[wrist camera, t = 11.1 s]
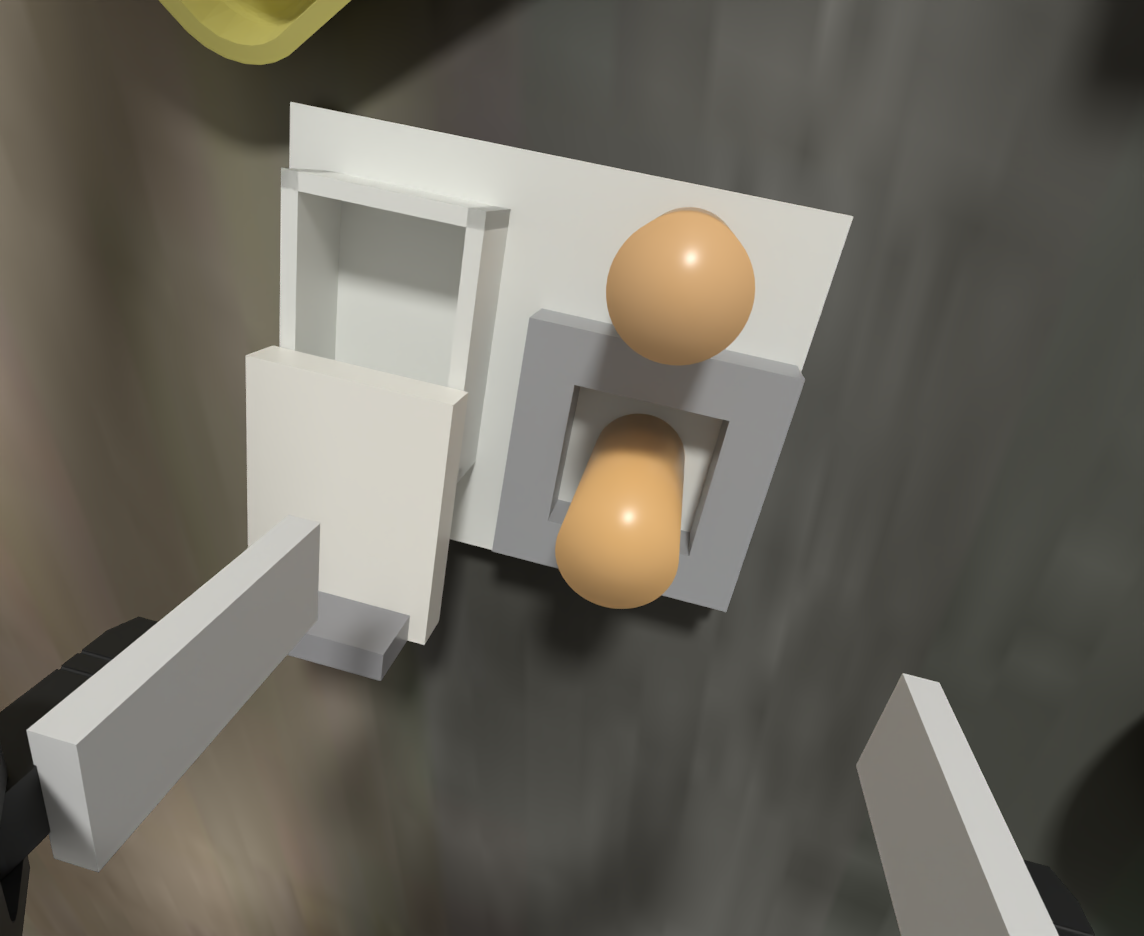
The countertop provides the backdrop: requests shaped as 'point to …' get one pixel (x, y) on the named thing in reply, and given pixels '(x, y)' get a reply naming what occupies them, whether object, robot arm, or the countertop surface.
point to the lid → (357, 495)
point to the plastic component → (253, 25)
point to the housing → (559, 317)
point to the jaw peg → (625, 515)
